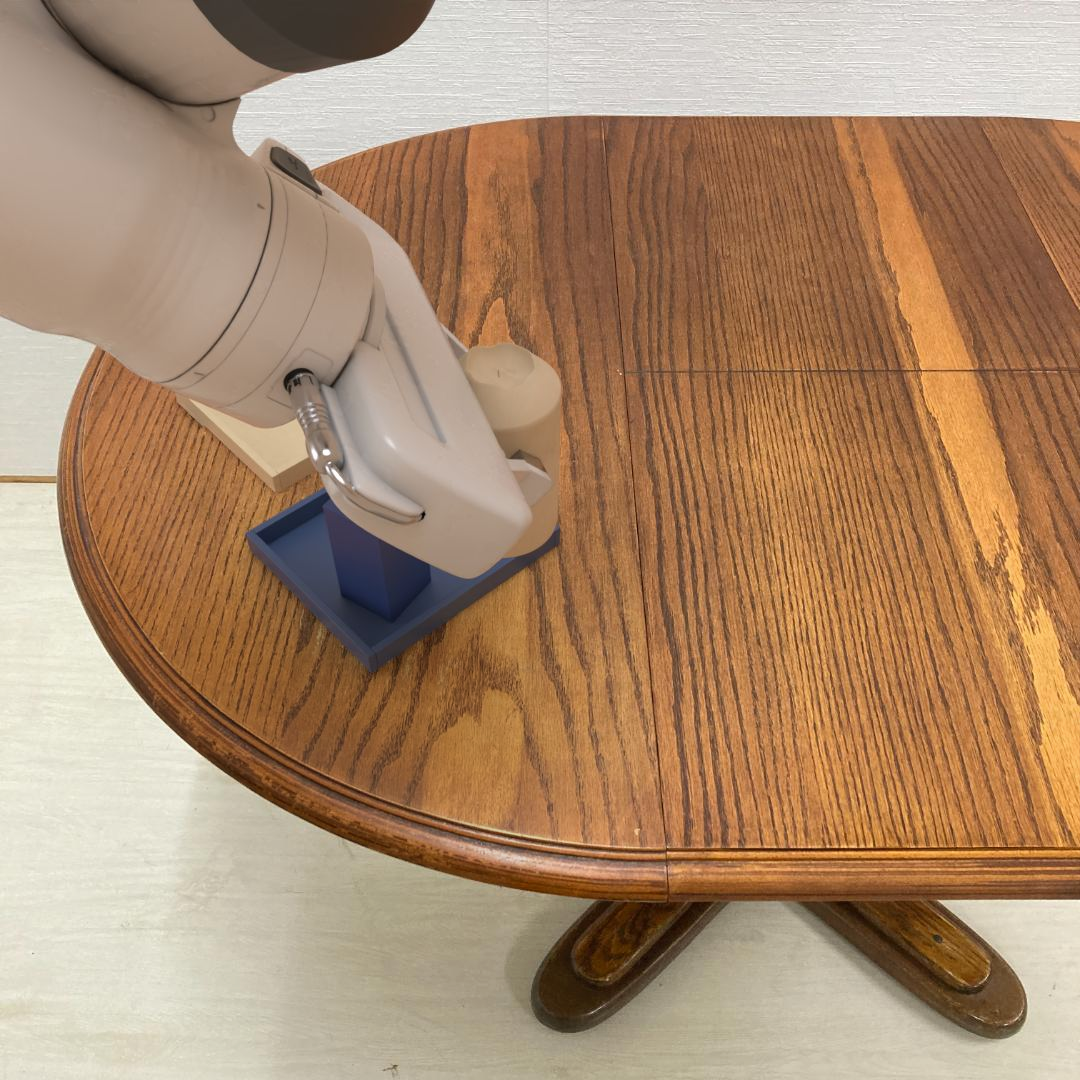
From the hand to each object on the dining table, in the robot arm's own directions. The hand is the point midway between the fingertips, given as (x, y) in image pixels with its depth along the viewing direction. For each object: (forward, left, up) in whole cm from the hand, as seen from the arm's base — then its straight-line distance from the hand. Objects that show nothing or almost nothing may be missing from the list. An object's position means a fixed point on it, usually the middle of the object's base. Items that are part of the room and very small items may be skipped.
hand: (512, 435), depth 52 cm
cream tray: (+5, +28, -18) cm, 33 cm away
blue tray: (+1, +12, -18) cm, 22 cm away
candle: (-1, 0, -6) cm, 6 cm away
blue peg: (-2, +10, -18) cm, 20 cm away
